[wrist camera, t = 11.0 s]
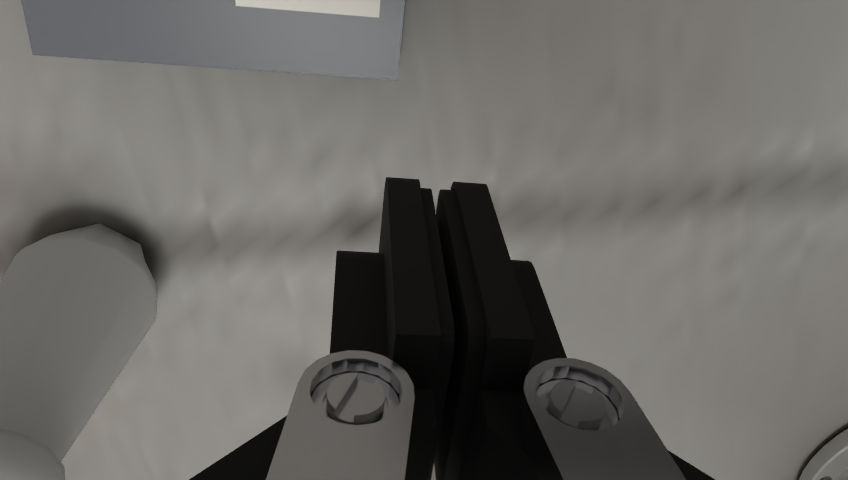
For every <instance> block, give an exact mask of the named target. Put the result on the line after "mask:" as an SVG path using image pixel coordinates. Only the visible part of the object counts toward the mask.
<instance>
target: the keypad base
mask: <svg viewBox="0 0 848 480" xmlns="http://www.w3.org/2000/svg"><path fill="white" fill-rule="evenodd" d="M21 1H22V6H23V11H24V15H25V20H26V25H27V29H28V34H29V39H30V44H31V48H32V53H33V55H42V56H56V57H70V58H85V59H99V60H113V61H128V62H142V63H156V64H171V65H185V66H200V67H214V68H228V69H243V70H257V71H271V72H286V73H300V74H314V75H329V76H343V77H358V78H372V79H386V80H398V72H399V61H400V50H401V39H402V28H403V17H404V5H405V0H380V12H379V18H377V17H364V16H352V15H340V14H328V13H316V12H303V11H291V10H279V9H267V8H255V7H243V6H236V2H235V0H21Z"/></svg>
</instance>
